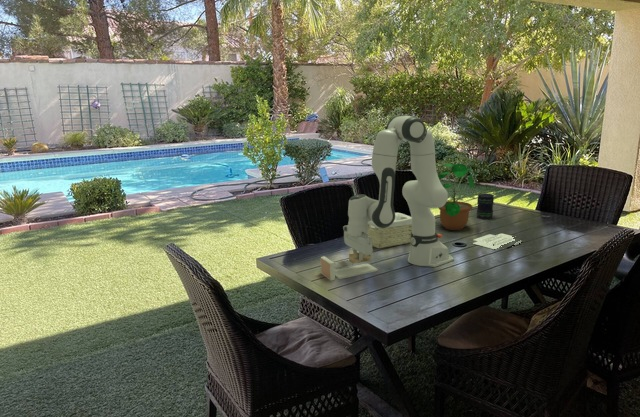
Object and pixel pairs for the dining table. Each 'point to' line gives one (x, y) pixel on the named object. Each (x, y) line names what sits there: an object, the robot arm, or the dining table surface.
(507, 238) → the paper stack
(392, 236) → the storage basket
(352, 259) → the wooden handled scraper
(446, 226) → the potted plant
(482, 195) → the storage jar
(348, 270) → the tool rest
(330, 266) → the tile
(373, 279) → the dining table surface
